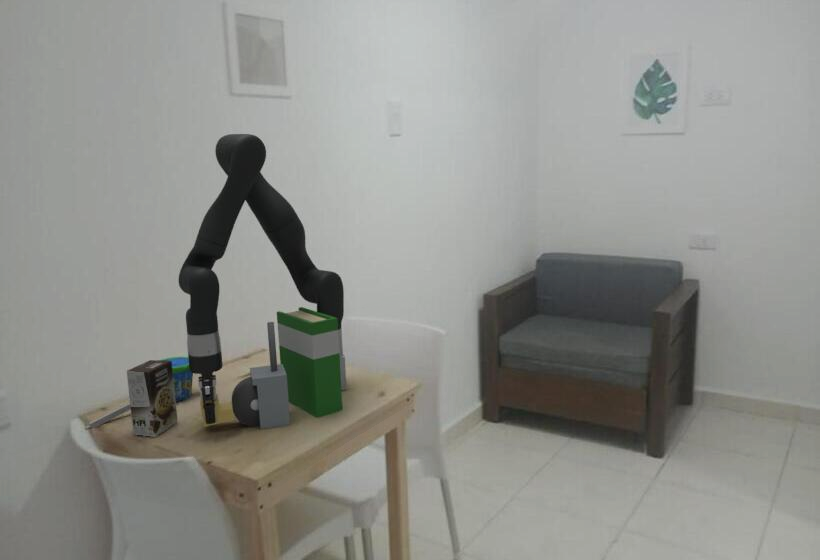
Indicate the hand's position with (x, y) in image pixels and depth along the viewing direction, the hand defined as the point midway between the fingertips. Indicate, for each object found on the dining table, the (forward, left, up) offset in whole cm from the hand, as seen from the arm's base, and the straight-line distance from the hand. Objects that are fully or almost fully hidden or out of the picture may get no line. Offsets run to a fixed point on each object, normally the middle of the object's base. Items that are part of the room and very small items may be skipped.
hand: (210, 418), depth 159 cm
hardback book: (-25, -7, -3) cm, 26 cm away
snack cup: (+9, -26, -3) cm, 28 cm away
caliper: (+21, -17, -3) cm, 27 cm away
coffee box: (+13, -5, -3) cm, 14 cm away
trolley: (-12, 0, -3) cm, 12 cm away
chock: (-2, 0, 0) cm, 2 cm away
